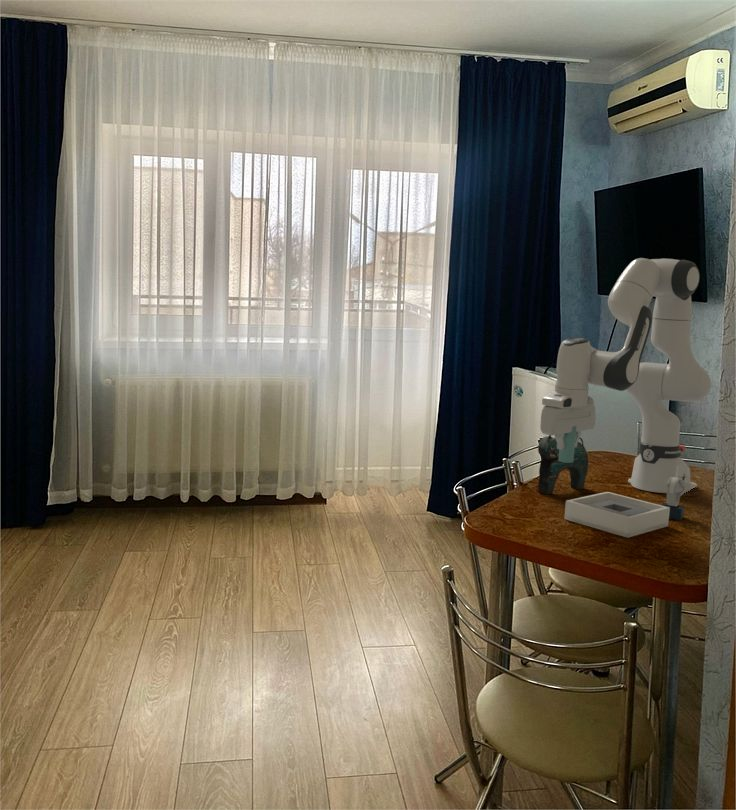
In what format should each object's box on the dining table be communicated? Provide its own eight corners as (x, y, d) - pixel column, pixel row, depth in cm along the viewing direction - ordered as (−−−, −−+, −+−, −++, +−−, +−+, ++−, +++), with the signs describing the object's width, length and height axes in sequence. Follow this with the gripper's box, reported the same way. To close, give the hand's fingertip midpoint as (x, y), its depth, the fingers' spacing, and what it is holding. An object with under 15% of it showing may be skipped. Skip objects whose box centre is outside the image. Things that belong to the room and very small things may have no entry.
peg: (564, 458, 233) (567, 423, 231) (576, 461, 230) (579, 425, 228) (555, 460, 230) (558, 424, 229) (567, 463, 227) (570, 427, 226)
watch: (684, 515, 232) (689, 476, 230) (678, 522, 225) (683, 481, 223) (663, 511, 234) (667, 473, 233) (657, 518, 228) (661, 478, 226)
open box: (605, 509, 234) (607, 491, 233) (668, 526, 220) (669, 507, 219) (564, 519, 222) (565, 500, 221) (627, 537, 208) (629, 518, 207)
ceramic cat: (545, 496, 245) (551, 429, 242) (529, 491, 251) (534, 425, 248) (589, 489, 257) (595, 425, 254) (573, 484, 262) (578, 421, 259)
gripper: (583, 394, 236) (580, 442, 238) (538, 398, 223) (534, 449, 225) (603, 397, 231) (598, 446, 234) (557, 402, 218) (553, 454, 220)
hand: (566, 448), depth 229 cm, fingers closed on peg, 4 cm apart
